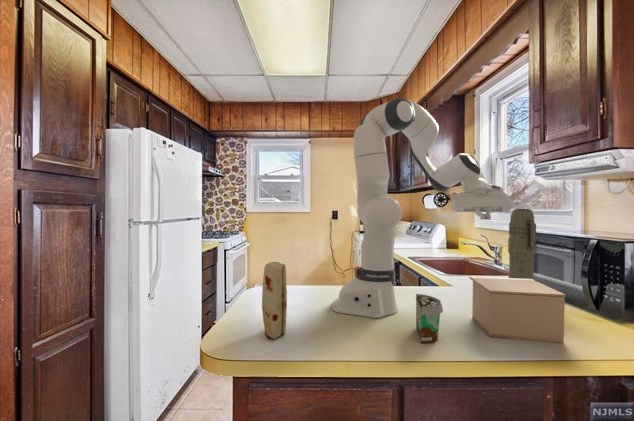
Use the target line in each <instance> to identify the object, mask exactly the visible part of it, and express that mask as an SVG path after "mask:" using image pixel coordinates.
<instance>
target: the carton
mask: <svg viewBox="0 0 634 421" xmlns="http://www.w3.org/2000/svg"><path fill="white" fill-rule="evenodd" d="M565 298H566V297H557V296H539V295H521V294H502V293H489V292H488V291H486V290H485V289H483V288H482V287H481V286H479V285H478V284H477V283H475V282H474V281H473V280H472V307H471V308H472V309H471V310H472V314H471V316H472V317H471V318H472V319H473V321H474V320H475V321H476V322H475V321H474V322H475V323H476V324H477V325H478V327H480V328H481V329H482V331H483V330H484V331H483V332H484V333H485V334H486V335H487V336H488V337H489V338H496V337H498V339H508V338H509V339H511V340H524V341H525V340H526V341H536V342H549V343H560V344H563V343H565V342H564V341H565V339H564V337H565Z"/></svg>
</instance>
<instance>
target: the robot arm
mask: <svg viewBox="0 0 634 421" xmlns="http://www.w3.org/2000/svg"><path fill="white" fill-rule="evenodd" d="M439 130H440V129H439V124H438V123H437V122H436V120H435V118H434V117H433V116H432V115H431V114H430V113H429V112H428V110H426V109H424V108H423V107H422V106H421V105H420V104H418V103H417V102H415V101H414V100H412V99H406V98H404V97H396V98H393V99H391V100H389V101H387V102H385V103H383V104H380V105H377V106H376V107H374V108H373V109H371V111H367V113H366V114H364V115H363V116H362V118H361V120H360V124H359V126H358V127H357V128H356V129H355V130H354V134H353V155H354V162H355V165H354V166H355V171H356V172H355V173H356V182H357V184H356V185H357V186H356V187H357V189H356V191H357V192H356V197H357V200H356V203H357V210H356V213H357V217H358V219H359V220H360V222H361V223H362V224H364V231H363V232H364V233H363V238H362V241H361V245H360V266H358V265H356V266H354V269H353V270H354V278H352V279H351V280H350V281H348V282H347V283H345V284H344V285H343V286H342V287H341V288H340V290H339V294H338V298H335V299H334V300H333V301H332V303H331V305H332V306H331V309H332V310H333V311H334V312H335V313H339V314H345V315H346V314H348V315H354V316H361V317H367V318H374V319H375V318H376V319H380V318H382V317H385V316H389V315H390V316H391V315H393V314H396V313H397V312H398V310H399V308H398V305H397V300H396V295H395V283H396V281H395V280H396V271H395V268H394V256H395V255H394V253H395V252H394V250H395V241H396V236H397V231H398V228H399V227H398V226H399V223H400V222H401V220H402V218H403V208H402V206H401V204H400V203H399V202H398V200H396V199H394V198H392V196H391V197H390V196H388V188H389V187H388V186H389V185H388V184H389V180H390V177H391V176H390V175H391V174H390V168H389V159H388V153H387V152H388V151H387V146H386V138H387V137H390V136H392V135H395V134H397V133H398V132H400V131H401V132H402V133H403V134H404V136H405V137H406V138H407V139H408V140H409V142H410V146H409V152H410V154H411V156H412V158H413V160H415V163H416V164H417V165H418V167H419V168H420V170H421V171H422V172H423V174H424V175H425V177H426V178H427V180H428V181H429V183H430V185H431V187H432V188H433V189H434V190H435V191H438V192H447V191H448V190H450V189H451V188H452V187H454V186H455V185H457V184H459V183H460V185H461V187H462V190H463V192H462V191H461V192H452V193H450V195H449V199H450V200H451V205H452V206H451V208H452V211H453V212H455V213H474V214H475V215H476V216H477V217H479V219H480V220H481V221H482V220H483V221H484V220H486V221H490V220H491V218H492V215H491V213H509V212H511V210H512V207H513V202H512V200H511V198H510V196H509V195H508V194H507V193H506V192H505V191H504V187H503V186H501V185H496V184H491V183H488V182H487V181H486V180H485V175H484V172H483V171H482V169H481V166H480V164H479V162H478V161H477V160H476V158H474V157H473V155H470V154H468V153H458V154H457V155H456V156H454V157H452V158H451V159H449V160H447V161H446V162H444V163H443V164H442V165H440V166H439V167H435V166H434V165H433V164H432V163H431V160H430V159H429V158H428V157H427V154H428V153H429V151H430V149H431V148H432V146H433V145H434V144H435V142H436V140H437V138H438V136H439Z"/></svg>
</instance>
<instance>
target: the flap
mask: <svg viewBox="0 0 634 421" xmlns="http://www.w3.org/2000/svg"><path fill="white" fill-rule="evenodd" d="M469 279H470V280H471V281H472V282H473V281H474V282H475V283H477V284H478V285H479V286H481V287H482V288H483V289H485V290H486V291H488V292H489V293H502V294H521V295H539V296H557V297H565V298H566V295H567V294H565V293H563V292H561V291H558V290H556V289H554V288H551V287H550V286H547V285H546V284H544V283H541V282H538V281H536V280H535V279H534V278H533V279H534V280H533V279H520V278H508V277H494V276H474V275H473V276H470V275H469Z"/></svg>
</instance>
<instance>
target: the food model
mask: <svg viewBox="0 0 634 421" xmlns="http://www.w3.org/2000/svg"><path fill="white" fill-rule="evenodd" d="M261 293H262V294H261V295H262V296H261V297H262V298H261V309H262V310H261V311H262V320H263V326H264V327H263V328H264V334H265V336H266V338H267V339H274V340H275V339H278V338H280V336H281V335H282V334H283V335H285V334H286V332H287V308H288V307H287V306H288V305H287V303H288V302H287V301H288V298H287V297H288V295H287V294H288V291H287V266H286V264H285V263H281V262H278V261H271V262H268V263H266V264H265V265H264V269H263V280H262V292H261Z"/></svg>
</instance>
